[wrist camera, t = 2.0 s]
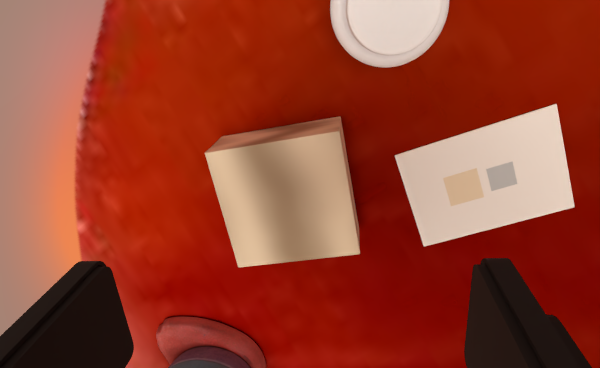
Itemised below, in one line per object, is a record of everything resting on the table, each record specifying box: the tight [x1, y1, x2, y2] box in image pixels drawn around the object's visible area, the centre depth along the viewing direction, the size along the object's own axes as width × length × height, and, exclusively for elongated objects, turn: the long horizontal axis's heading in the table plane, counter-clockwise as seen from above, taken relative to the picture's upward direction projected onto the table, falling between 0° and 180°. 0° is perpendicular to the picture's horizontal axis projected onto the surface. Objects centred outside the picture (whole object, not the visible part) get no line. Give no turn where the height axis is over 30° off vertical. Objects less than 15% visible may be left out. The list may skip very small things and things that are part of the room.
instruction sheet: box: [394, 104, 575, 247], centre depth 30 cm, size 11×8×1 cm
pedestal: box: [205, 116, 360, 267], centre depth 30 cm, size 9×9×4 cm
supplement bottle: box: [330, 0, 449, 68], centre depth 22 cm, size 6×6×10 cm
